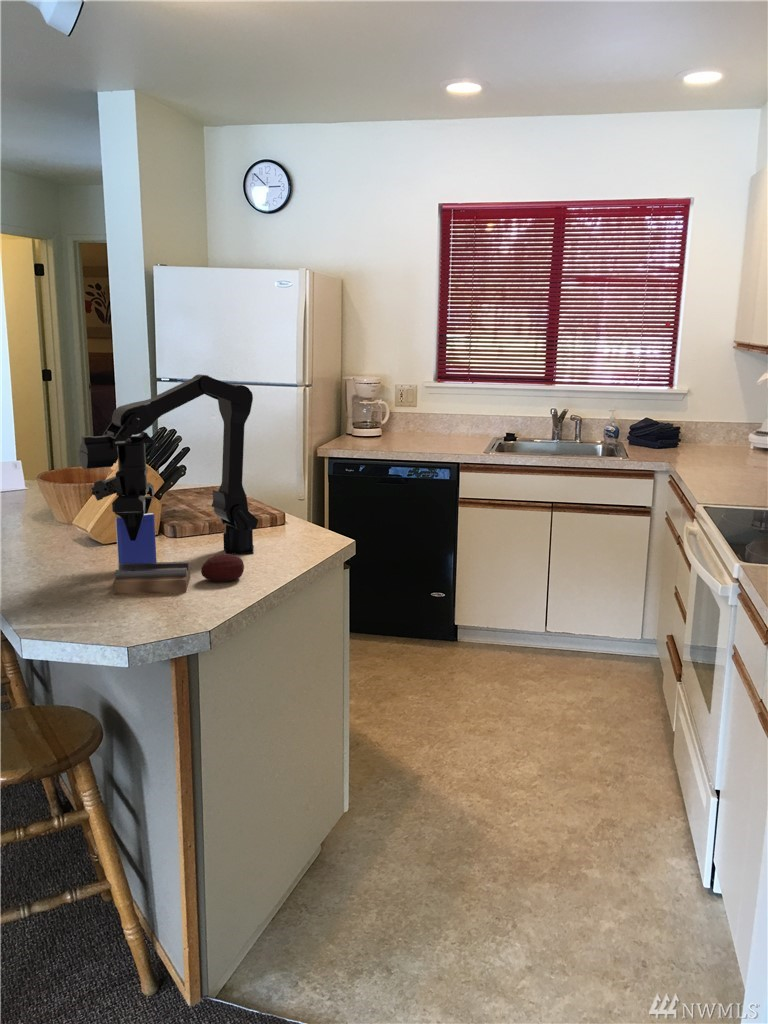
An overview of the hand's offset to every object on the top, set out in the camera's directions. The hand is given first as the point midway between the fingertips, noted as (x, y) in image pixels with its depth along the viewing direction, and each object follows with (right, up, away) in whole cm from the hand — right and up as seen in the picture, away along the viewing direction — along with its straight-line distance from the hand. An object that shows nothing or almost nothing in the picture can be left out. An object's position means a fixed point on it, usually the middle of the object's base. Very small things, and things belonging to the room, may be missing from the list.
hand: (136, 535), depth 175 cm
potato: (+20, -10, -5) cm, 23 cm away
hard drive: (0, -8, +2) cm, 8 cm away
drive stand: (+7, -11, -10) cm, 16 cm away
